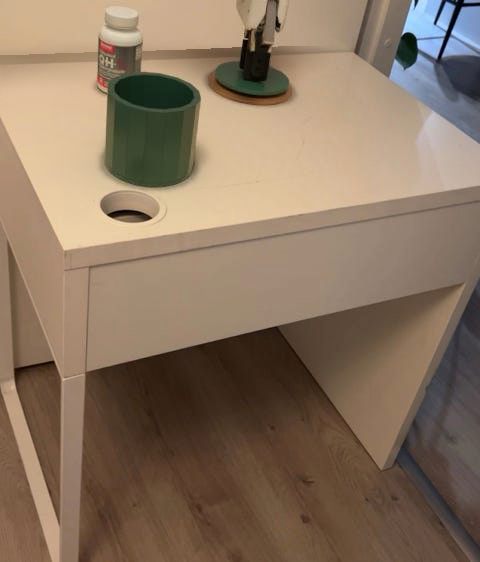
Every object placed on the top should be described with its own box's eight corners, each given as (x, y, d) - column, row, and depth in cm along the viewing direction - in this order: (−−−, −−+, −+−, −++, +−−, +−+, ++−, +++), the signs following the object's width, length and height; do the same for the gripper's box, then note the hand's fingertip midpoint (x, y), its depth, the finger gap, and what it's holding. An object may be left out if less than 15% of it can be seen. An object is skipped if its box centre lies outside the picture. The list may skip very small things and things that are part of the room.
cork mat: (213, 101, 95) (213, 98, 94) (203, 65, 104) (203, 63, 103) (299, 107, 97) (300, 105, 97) (282, 72, 106) (283, 69, 106)
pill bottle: (92, 93, 91) (94, 14, 86) (101, 76, 96) (104, 0, 90) (135, 100, 92) (140, 22, 86) (142, 83, 96) (147, 8, 90)
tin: (105, 184, 75) (108, 108, 70) (104, 141, 82) (107, 68, 77) (195, 189, 77) (205, 114, 72) (187, 146, 84) (195, 75, 79)
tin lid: (219, 96, 95) (226, 47, 91) (210, 65, 103) (216, 18, 99) (294, 102, 97) (304, 54, 93) (280, 71, 105) (288, 25, 101)
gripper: (235, -91, 94) (217, 49, 105) (256, -57, 81) (233, 98, 92) (292, -84, 95) (268, 53, 106) (321, -49, 83) (291, 102, 94)
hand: (252, 73), depth 99 cm, fingers closed on tin lid, 2 cm apart
